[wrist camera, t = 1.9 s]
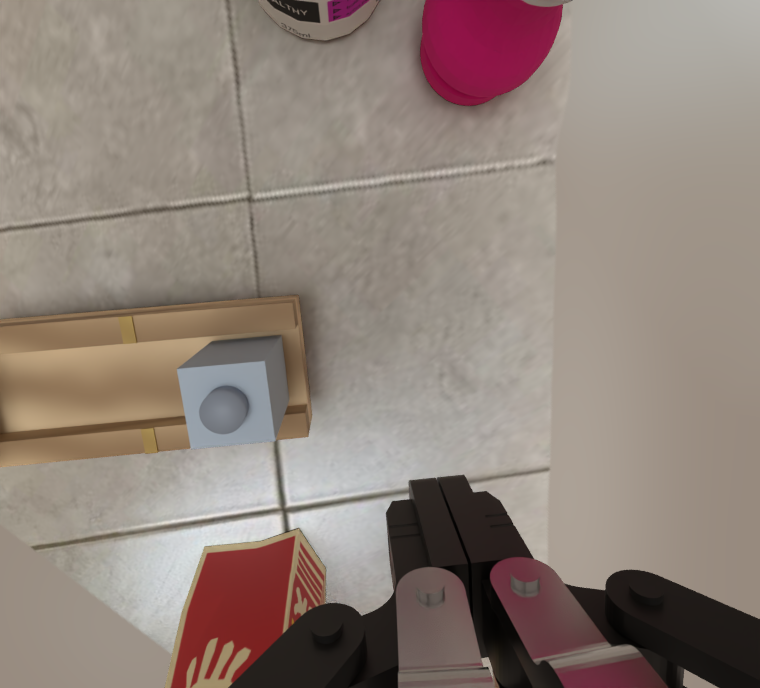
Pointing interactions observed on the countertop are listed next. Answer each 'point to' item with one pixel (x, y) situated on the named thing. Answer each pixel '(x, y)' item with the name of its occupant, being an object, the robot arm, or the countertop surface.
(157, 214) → the countertop surface
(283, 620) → the milk carton
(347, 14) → the supplement can
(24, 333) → the beam
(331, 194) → the countertop surface
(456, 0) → the pepper mill
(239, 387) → the rider
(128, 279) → the countertop surface
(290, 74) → the countertop surface
